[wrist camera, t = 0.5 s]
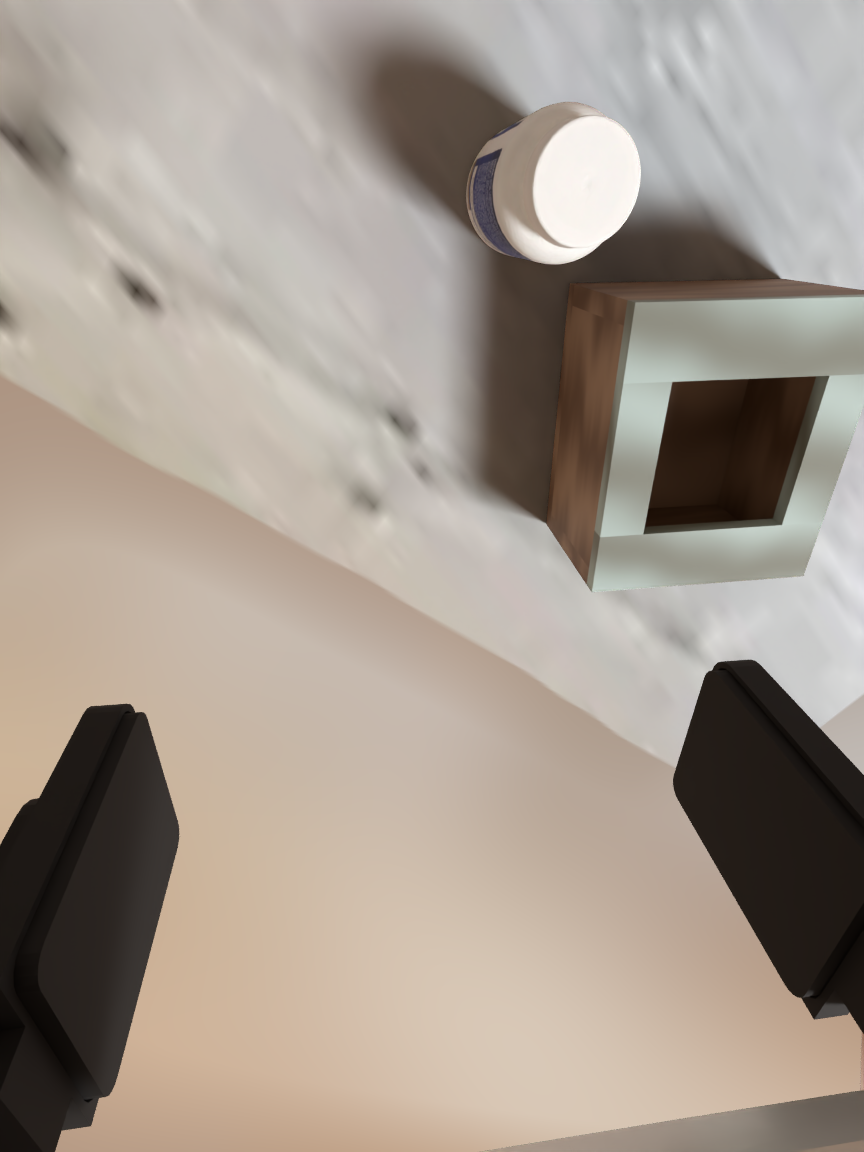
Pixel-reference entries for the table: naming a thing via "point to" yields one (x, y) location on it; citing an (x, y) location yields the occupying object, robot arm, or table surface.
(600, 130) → the pill bottle
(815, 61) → the table surface
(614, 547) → the box
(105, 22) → the table surface
